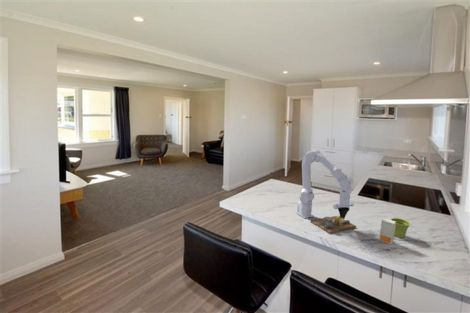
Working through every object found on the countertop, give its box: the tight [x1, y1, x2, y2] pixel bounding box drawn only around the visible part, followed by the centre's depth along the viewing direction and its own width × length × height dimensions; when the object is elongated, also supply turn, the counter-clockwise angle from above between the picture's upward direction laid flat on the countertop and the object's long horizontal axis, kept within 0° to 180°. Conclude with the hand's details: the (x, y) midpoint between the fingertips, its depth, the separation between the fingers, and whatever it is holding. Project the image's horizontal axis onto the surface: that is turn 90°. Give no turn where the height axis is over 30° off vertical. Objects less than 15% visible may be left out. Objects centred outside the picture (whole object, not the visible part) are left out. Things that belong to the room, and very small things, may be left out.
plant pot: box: [390, 217, 411, 239], centre depth 147 cm, size 9×9×9 cm
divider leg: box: [334, 215, 343, 226], centre depth 157 cm, size 5×3×5 cm, turn 24°
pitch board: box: [310, 215, 357, 234], centre depth 158 cm, size 16×21×7 cm
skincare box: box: [378, 218, 396, 245], centre depth 139 cm, size 6×4×12 cm
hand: (342, 218), depth 157 cm, fingers closed
